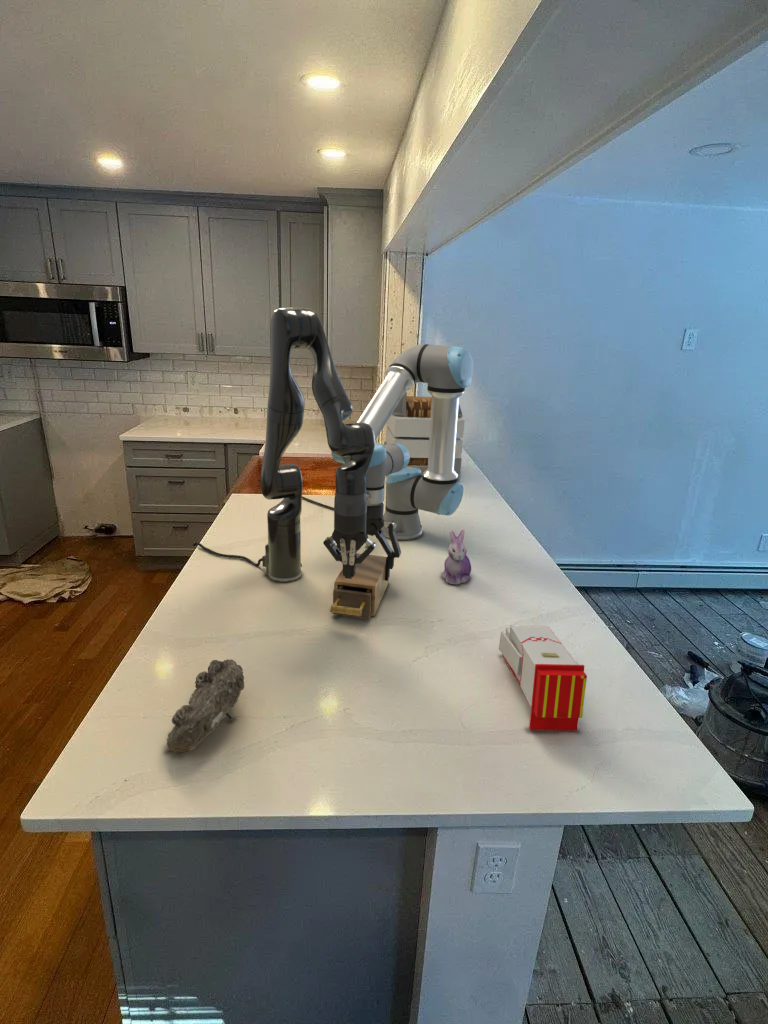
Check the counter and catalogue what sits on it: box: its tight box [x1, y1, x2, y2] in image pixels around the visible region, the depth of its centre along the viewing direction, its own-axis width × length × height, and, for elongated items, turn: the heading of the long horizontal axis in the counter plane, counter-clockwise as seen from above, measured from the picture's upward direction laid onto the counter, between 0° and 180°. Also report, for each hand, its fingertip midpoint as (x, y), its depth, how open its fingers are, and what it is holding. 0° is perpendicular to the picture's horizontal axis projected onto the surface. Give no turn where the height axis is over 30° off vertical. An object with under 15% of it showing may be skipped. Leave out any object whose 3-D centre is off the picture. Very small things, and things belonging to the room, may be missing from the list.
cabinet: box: [334, 552, 389, 617], centre depth 154 cm, size 19×11×9 cm, turn 169°
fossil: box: [166, 658, 245, 754], centre depth 106 cm, size 22×10×15 cm
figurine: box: [442, 529, 472, 585], centre depth 166 cm, size 9×10×15 cm
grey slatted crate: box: [383, 391, 465, 483], centre depth 268 cm, size 34×33×41 cm
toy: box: [498, 624, 588, 732], centre depth 119 cm, size 12×13×30 cm
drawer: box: [329, 585, 372, 620], centre depth 148 cm, size 24×10×7 cm, turn 169°
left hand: (349, 577), depth 137 cm, fingers closed
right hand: (367, 576), depth 159 cm, fingers closed on cabinet, 11 cm apart
